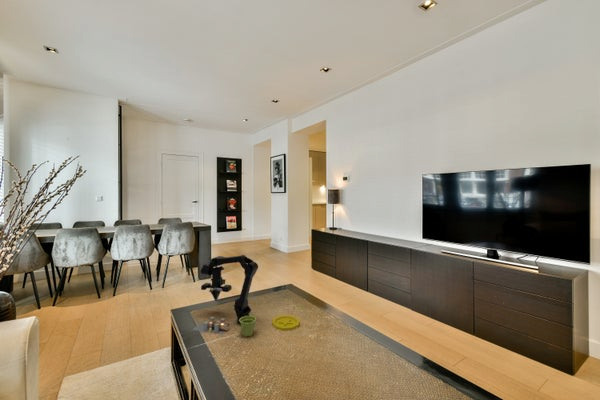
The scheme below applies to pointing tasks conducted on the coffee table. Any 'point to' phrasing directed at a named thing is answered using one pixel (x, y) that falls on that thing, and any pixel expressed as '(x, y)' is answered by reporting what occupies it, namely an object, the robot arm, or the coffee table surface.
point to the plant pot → (247, 325)
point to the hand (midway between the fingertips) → (216, 300)
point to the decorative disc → (285, 322)
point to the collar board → (204, 327)
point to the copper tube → (221, 325)
